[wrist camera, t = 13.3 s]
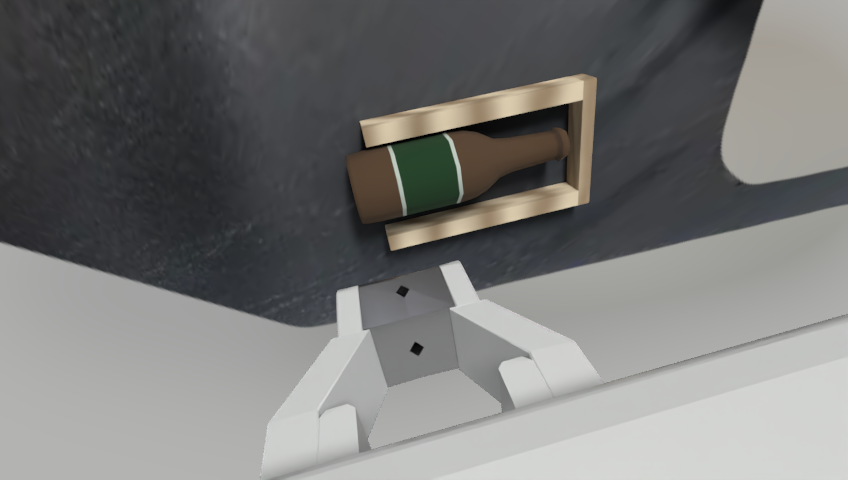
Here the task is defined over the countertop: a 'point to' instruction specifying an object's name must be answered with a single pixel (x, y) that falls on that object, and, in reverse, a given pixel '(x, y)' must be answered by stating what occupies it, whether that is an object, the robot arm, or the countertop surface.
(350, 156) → the beer bottle
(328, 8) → the countertop surface
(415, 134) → the u rest
